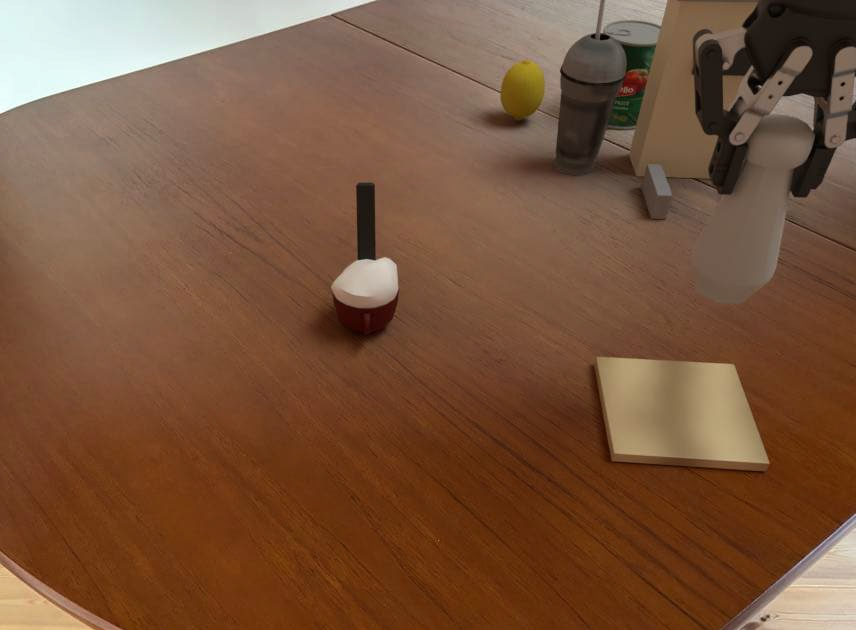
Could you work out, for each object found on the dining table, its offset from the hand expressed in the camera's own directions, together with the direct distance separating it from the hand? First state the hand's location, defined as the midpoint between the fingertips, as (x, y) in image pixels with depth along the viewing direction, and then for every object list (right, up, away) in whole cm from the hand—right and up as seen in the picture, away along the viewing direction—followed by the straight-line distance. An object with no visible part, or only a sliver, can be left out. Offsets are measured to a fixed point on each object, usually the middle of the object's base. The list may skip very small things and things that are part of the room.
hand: (759, 189), depth 58 cm
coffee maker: (+14, +11, +42) cm, 45 cm away
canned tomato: (+10, +23, +55) cm, 61 cm away
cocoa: (-25, -6, +25) cm, 36 cm away
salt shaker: (0, -6, +6) cm, 8 cm away
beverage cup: (+1, +14, +46) cm, 48 cm away
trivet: (0, -16, +15) cm, 21 cm away
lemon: (-3, +23, +55) cm, 60 cm away
